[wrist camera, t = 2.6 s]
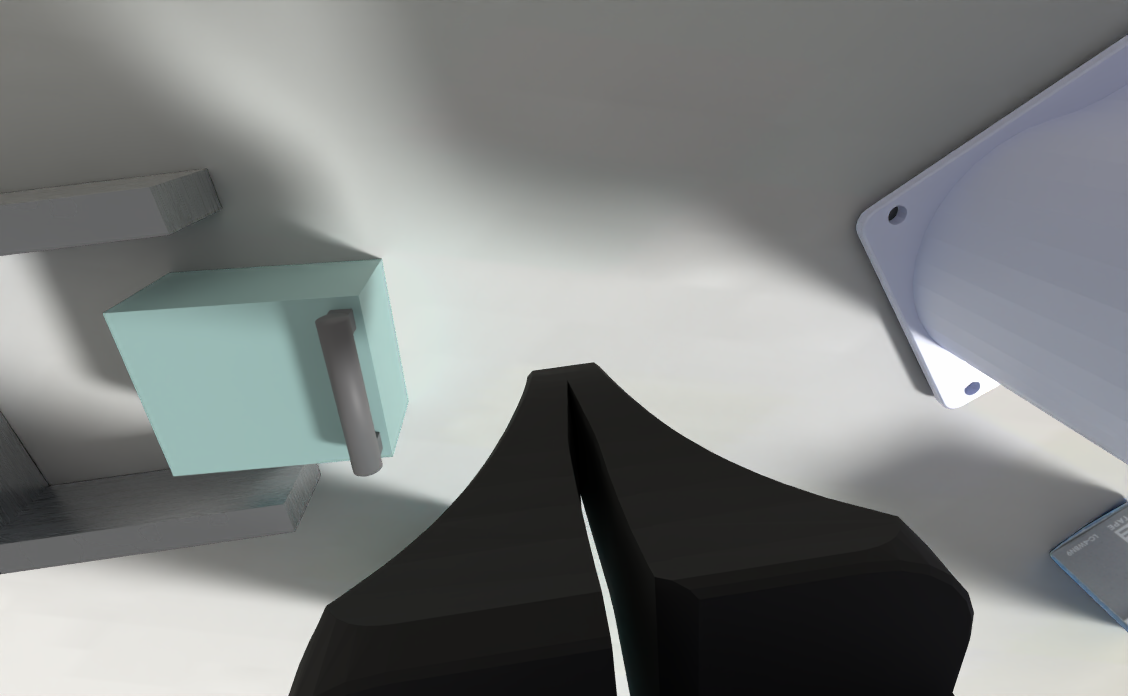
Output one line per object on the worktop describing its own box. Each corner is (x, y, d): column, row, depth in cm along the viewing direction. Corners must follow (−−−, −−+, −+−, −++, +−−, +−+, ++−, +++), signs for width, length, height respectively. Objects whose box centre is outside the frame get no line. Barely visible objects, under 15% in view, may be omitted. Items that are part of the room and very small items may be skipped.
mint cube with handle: (383, 256, 15) (347, 313, 12) (409, 397, 17) (385, 483, 14) (173, 270, 15) (69, 333, 11) (225, 412, 17) (150, 504, 13)
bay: (206, 168, 14) (149, 187, 12) (321, 474, 18) (295, 531, 16) (-175, 214, 14) (-311, 242, 11) (32, 515, 18) (-36, 579, 15)
